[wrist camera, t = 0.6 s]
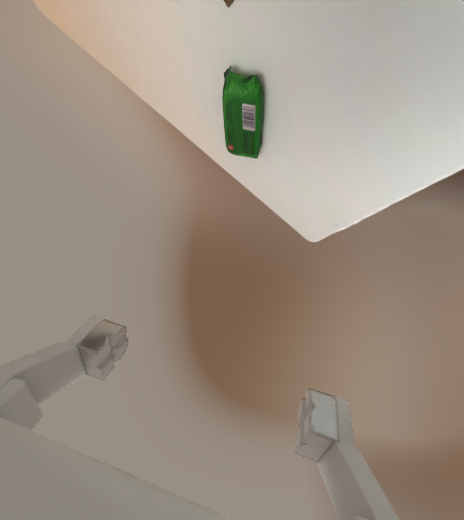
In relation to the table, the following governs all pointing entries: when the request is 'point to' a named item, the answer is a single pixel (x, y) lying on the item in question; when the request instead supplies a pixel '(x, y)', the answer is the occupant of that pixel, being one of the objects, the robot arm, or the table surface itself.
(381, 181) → the table surface
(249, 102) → the snack package
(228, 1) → the ruler
